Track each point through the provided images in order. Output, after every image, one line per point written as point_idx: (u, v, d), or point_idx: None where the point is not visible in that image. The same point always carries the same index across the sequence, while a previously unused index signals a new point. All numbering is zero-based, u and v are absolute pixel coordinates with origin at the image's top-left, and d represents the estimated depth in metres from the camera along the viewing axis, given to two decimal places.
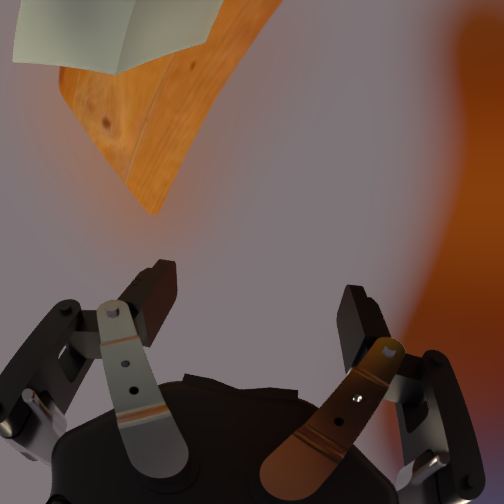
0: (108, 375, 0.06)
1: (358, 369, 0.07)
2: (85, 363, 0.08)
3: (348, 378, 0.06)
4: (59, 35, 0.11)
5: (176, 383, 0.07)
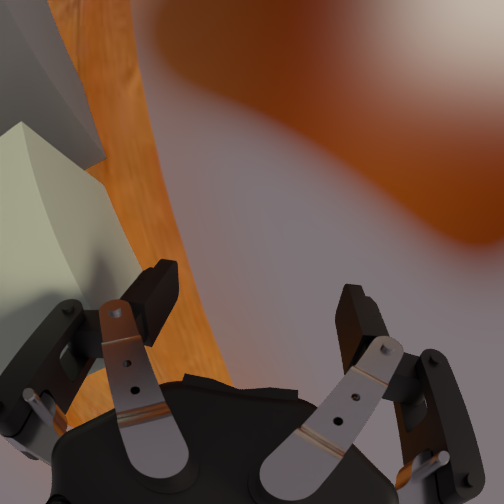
0: (109, 374, 0.06)
1: (356, 368, 0.07)
2: (87, 363, 0.09)
3: (346, 377, 0.06)
4: (8, 357, 0.09)
5: (176, 383, 0.07)
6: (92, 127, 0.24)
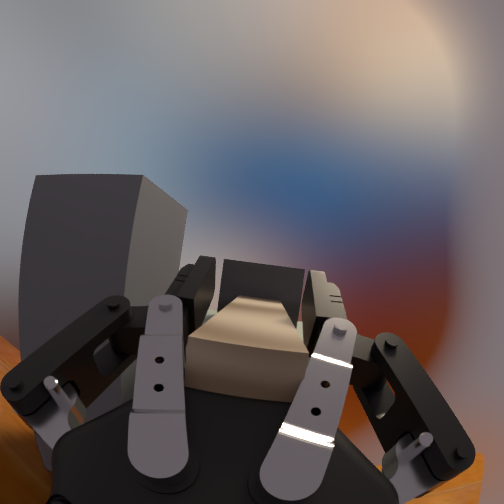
0: (138, 367, 0.06)
1: (317, 355, 0.07)
2: (125, 361, 0.09)
3: (310, 367, 0.07)
4: None
5: None
6: None
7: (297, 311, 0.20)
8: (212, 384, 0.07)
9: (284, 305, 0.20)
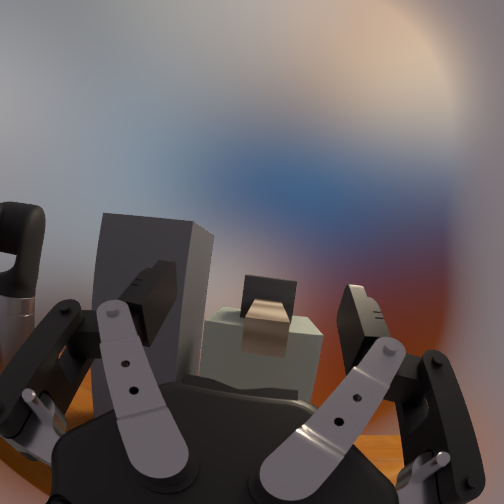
0: (108, 375, 0.06)
1: (358, 369, 0.07)
2: (85, 363, 0.08)
3: (348, 378, 0.06)
4: (293, 322, 0.33)
5: (176, 383, 0.07)
6: None
7: (292, 308, 0.32)
8: (254, 335, 0.18)
9: (284, 304, 0.32)
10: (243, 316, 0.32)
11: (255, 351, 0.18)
